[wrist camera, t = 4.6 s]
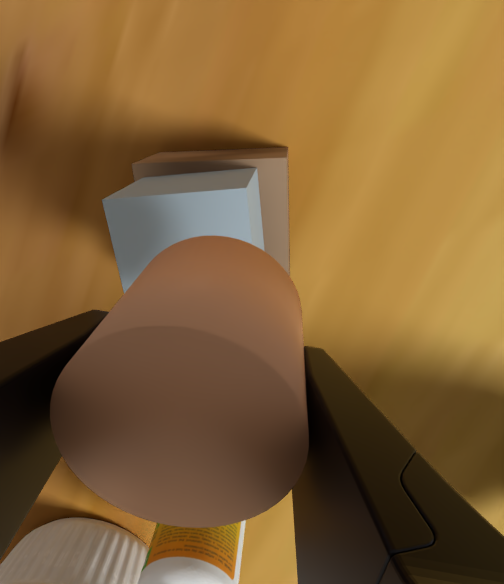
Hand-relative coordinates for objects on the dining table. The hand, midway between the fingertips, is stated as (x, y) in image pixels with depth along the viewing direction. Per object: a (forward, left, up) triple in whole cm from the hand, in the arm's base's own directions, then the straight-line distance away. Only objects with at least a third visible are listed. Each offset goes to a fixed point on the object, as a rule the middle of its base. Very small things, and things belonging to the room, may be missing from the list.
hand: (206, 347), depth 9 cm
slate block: (+2, 0, -9) cm, 9 cm away
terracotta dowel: (0, 0, -1) cm, 1 cm away
